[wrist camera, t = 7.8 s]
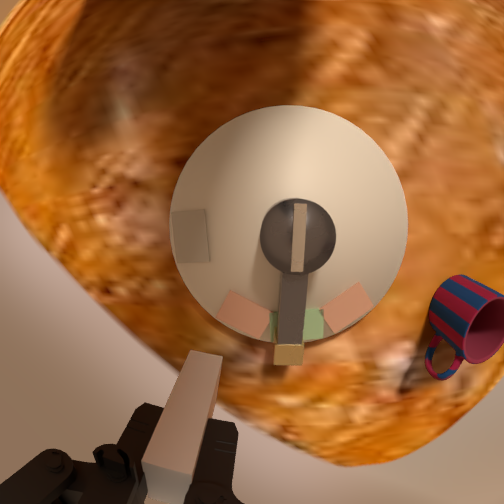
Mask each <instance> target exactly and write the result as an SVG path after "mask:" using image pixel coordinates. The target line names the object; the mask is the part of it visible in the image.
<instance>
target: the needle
mask: <svg viewBox="0 0 504 504" xmlns="http://www.w3.org/2000/svg"><path fill="white" fill-rule="evenodd" d="M260 244H261V248H262V251H263V254H264V256H265V257H266V259H267V260H268V261H269V263H270V264H271V265H272V266H273V267H275V268H276V269H278V270H279V271H280V283H279V300H278V317H277V327H274V341H273V359H274V365H302V362H303V354H304V341H303V329H304V319H305V309H306V298H307V286H308V274H309V273H312V272H314V271H316V270H318V269H319V268H321V267H322V266H323V265H324V264H325V263H326V262H327V261H328V260H329V258H330V257H331V255H332V253H333V251H334V248H335V244H336V229H335V225H334V223H333V220H332V218H331V217H330V215H329V214H328V212H327V211H326V210H325V209H324V208H323V207H321V206H320V205H318V204H317V203H315V202H312V201H310V200H306V199H301V198H286V199H283V200H280V201H278V202H276V203H275V204H274V205H272V206H271V207H270V208H269V209H268V211H267V212H266V214H265V216H264V218H263V221H262V225H261V230H260Z"/></svg>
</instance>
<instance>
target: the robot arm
mask: <svg viewBox="0 0 504 504" xmlns="http://www.w3.org/2000/svg"><path fill="white" fill-rule="evenodd" d="M222 359H223V356H218V355H213V354H208V353H203V352H199V351H194V350H190V352H189V354H188V356H187V358H186V361H185V363H184V365H183V367H182V370H181V372H180V374H179V376H178V378H177V381H176V383H175V385H174V388H173V390H172V392H171V394H170V397H169V399H168V401H167V403H166V405H165V408H162V407H159V406H155V405H152V404H148V403H144V404H142V405H141V406H139V407H138V408H137V409H136V410H135V411H134V413H133V415H132V417H131V420H130V421H129V423H128V424H127V427H126V428H125V430H124V432H123V433H122V436H121V437H120V439H119V441H118V443H117V444H116V445H115V444H104V445H101V446H99V447H97V448H96V449H95V450H94V451H93V455H94V458H95V460H96V463H88V462H82V461H76V460H72V459H71V458H70V457H69V456H68V455H67V453H65V452H63V451H61V450H58V449H47V450H45V451H43V452H41V453H40V454H39V455H37V456H36V457H35V458H33V459H32V460H31V461H30V462H28V463H27V464H26V465H25V466H24V467H22V468H21V469H20V470H18V471H17V472H16V473H14V474H13V475H12V476H11V477H10V478H8V479H7V480H5V481H4V482H3V483H2V484H0V504H144V500H145V498H146V495H147V493H148V497H149V498H152V499H155V500H159V501H162V502H166V503H170V504H244V503H242V502H240V500H238V499H237V498H236V496H235V495H234V494H233V491H232V478H233V471H234V463H235V456H236V448H237V441H238V431H237V428H236V426H235V423H233V422H227V421H222V420H217V419H212V415H213V411H214V407H215V403H216V398H217V392H218V385H219V378H220V372H221V365H222Z"/></svg>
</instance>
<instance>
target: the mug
mask: <svg viewBox="0 0 504 504" xmlns="http://www.w3.org/2000/svg"><path fill="white" fill-rule="evenodd" d="M429 320H430V324H431V326H432V328H433V329H434V330H435V331H436V334H435V335H434V337H433V339H432V341H431V342H430V344H429V347H428V349H427V352H426V356H425V366H426V369H427V371H428V372H429V374H430V375H431V376H432V377H433V378H435V379H438V380H447V379H448V378H450V377H451V376H452V375H453V374H454V373H455V372H456V371H457V370H458V368H459V366H460V365H461V363H462V361H463V359H465V360H466V361H467V362H469V363H471V364H479V363H482V362H484V361H486V360H488V359H489V358H490V357H492V356H493V355H494V354H495V353H496V352H497V351H498V350H499V348H500V347H501V346H502V344H503V343H504V295H502V294H500V293H498V292H497V291H495V290H493V289H491V288H489V287H487V286H485V285H483V284H481V283H479V282H477V281H475V280H473V279H471V278H469V277H467V276H465V275H455V276H452V277H450V278H449V279H447V280H446V281H445V282H443V283H442V284H441V286H440V287H439V288H438V289H437V291H436V292H435V294H434V296H433V298H432V301H431V304H430V309H429ZM442 339H444V340H445V341H446V342H447V343H448V344H449V345H450V346H451V347H452V348H453V349H454V350H455V351H456V354H455V359H454V361H453V364H452V365H451V367H450V368H449V369H448V370H447V371H446V372H444V373H441V374H437V373H435V372H434V370H433V368H432V357H433V354H434V351H435V349H436V347H437V346H438V344H439V343H440V341H441V340H442Z"/></svg>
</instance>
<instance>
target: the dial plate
mask: <svg viewBox="0 0 504 504" xmlns="http://www.w3.org/2000/svg"><path fill="white" fill-rule="evenodd" d="M286 198H301V199H306V200H310V201H312V202H315V203H317V204H318V205H320V206H321V207H323V208H324V209H325V210H326V211H327V212H328V214H329V215H330V217H331V218H332V220H333V223H334V225H335V229H336V244H335V248H334V251H333V253H332V255H331V257H330V258H329V260H328V261H327V262H326V263H325V264H324V265H323V266H322V267H321V268H319V269H318V270H316V271H314V272H312V273H309V274H308V286H307V298H306V309H305V319H304V329H303V341H304V342H311V341H315V340H319V339H323V338H326V337H329V336H331V335H334V334H336V333H339V332H341V331H343V330H345V329H346V328H348V327H350V326H352V325H353V324H355V323H356V322H357V321H359V320H360V319H362V318H363V317H364V316H365V315H367V314H368V313H369V312H370V311H371V310H372V309H373V308H374V307H375V306H376V305H377V304H378V303H379V301H380V300H381V299H382V298H383V297H384V295H385V294H386V292H387V291H388V289H389V288H390V286H391V285H392V283H393V281H394V279H395V277H396V275H397V273H398V271H399V269H400V266H401V263H402V260H403V256H404V253H405V248H406V243H407V234H408V215H407V206H406V201H405V196H404V192H403V189H402V186H401V183H400V180H399V178H398V176H397V173H396V171H395V169H394V167H393V165H392V164H391V162H390V161H389V159H388V158H387V156H386V155H385V153H384V152H383V151H382V149H381V148H380V147H379V146H378V145H377V144H376V143H375V142H374V140H373V139H372V138H370V137H369V136H368V135H367V134H366V133H365V132H363V131H362V130H361V129H360V128H358V127H357V126H355V125H354V124H352V123H351V122H349V121H347V120H346V119H343V118H341V117H339V116H337V115H335V114H333V113H330V112H327V111H324V110H320V109H317V108H312V107H306V106H296V105H281V106H272V107H265V108H261V109H258V110H254V111H250V112H248V113H245V114H243V115H241V116H238V117H236V118H234V119H232V120H231V121H229V122H227V123H225V124H224V125H222V126H221V127H219V128H218V129H217V130H216V131H214V132H213V133H212V134H210V135H209V136H208V137H207V138H206V139H205V140H204V141H203V142H202V143H201V144H200V145H199V146H198V147H197V149H196V150H195V151H194V153H193V154H192V156H191V157H190V158H189V160H188V161H187V163H186V165H185V167H184V168H183V170H182V172H181V174H180V176H179V179H178V181H177V184H176V187H175V190H174V193H173V198H172V202H171V207H170V218H169V230H170V242H171V247H172V253H173V256H174V259H175V262H176V265H177V269H178V271H179V273H180V275H181V277H182V279H183V281H184V283H185V285H186V286H187V288H188V289H189V291H190V292H191V294H192V295H193V297H194V298H195V299H196V300H197V301H198V303H199V304H200V305H201V306H202V307H203V308H204V309H205V310H206V311H207V312H208V313H209V314H210V315H211V316H213V317H214V318H215V319H217V320H218V321H219V322H221V323H222V324H224V325H225V326H227V327H229V328H230V329H232V330H234V331H236V332H238V333H240V334H243V335H245V336H248V337H251V338H254V339H258V340H262V341H266V342H273V341H274V327H277V317H278V300H279V283H280V271H279V270H278V269H276V268H275V267H273V266H272V265H271V264H270V263H269V261H268V260H267V259H266V257H265V256H264V254H263V251H262V248H261V244H260V230H261V225H262V221H263V218H264V216H265V214H266V212H267V211H268V209H269V208H270V207H271V206H272V205H274V204H275V203H276V202H278V201H280V200H283V199H286Z"/></svg>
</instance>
